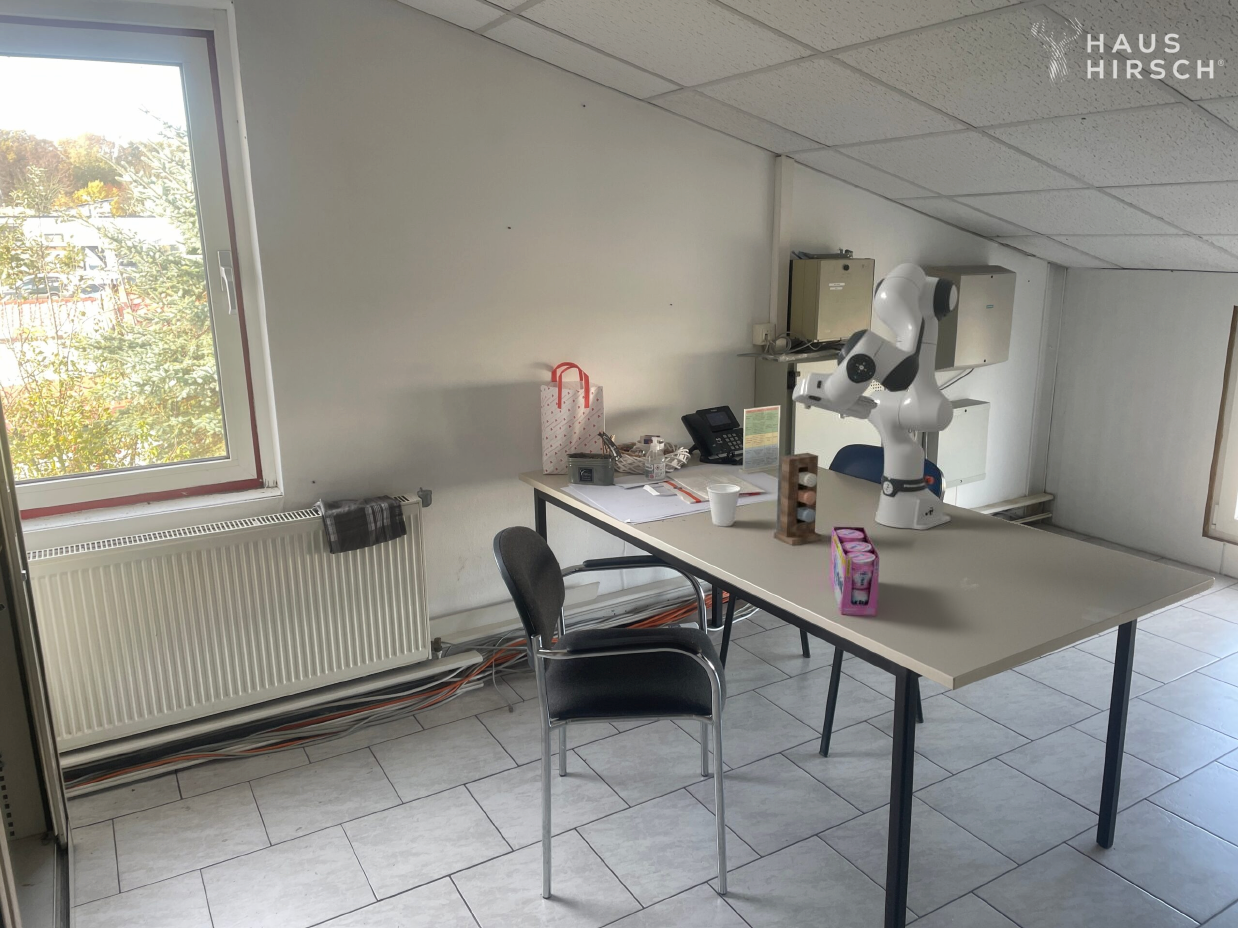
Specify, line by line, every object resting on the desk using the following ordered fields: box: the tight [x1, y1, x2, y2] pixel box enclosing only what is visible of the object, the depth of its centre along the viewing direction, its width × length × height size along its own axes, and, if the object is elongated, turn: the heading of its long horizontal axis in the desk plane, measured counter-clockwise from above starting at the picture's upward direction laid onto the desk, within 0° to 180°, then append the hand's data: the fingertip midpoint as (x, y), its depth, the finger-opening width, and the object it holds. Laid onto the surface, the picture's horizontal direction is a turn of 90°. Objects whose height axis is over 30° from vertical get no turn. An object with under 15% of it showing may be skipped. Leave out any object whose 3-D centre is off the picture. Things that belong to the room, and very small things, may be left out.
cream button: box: [798, 472, 818, 487], centre depth 235 cm, size 4×4×4 cm
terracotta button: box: [797, 489, 817, 505], centre depth 236 cm, size 4×4×4 cm
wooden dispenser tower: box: [773, 452, 822, 546], centre depth 239 cm, size 10×8×24 cm
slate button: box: [797, 507, 817, 522], centre depth 237 cm, size 4×4×4 cm
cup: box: [706, 483, 742, 528], centre depth 255 cm, size 10×10×11 cm
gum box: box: [829, 526, 880, 617], centre depth 197 cm, size 24×8×14 cm, turn 173°
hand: (824, 411), depth 229 cm, fingers open, 8 cm apart
